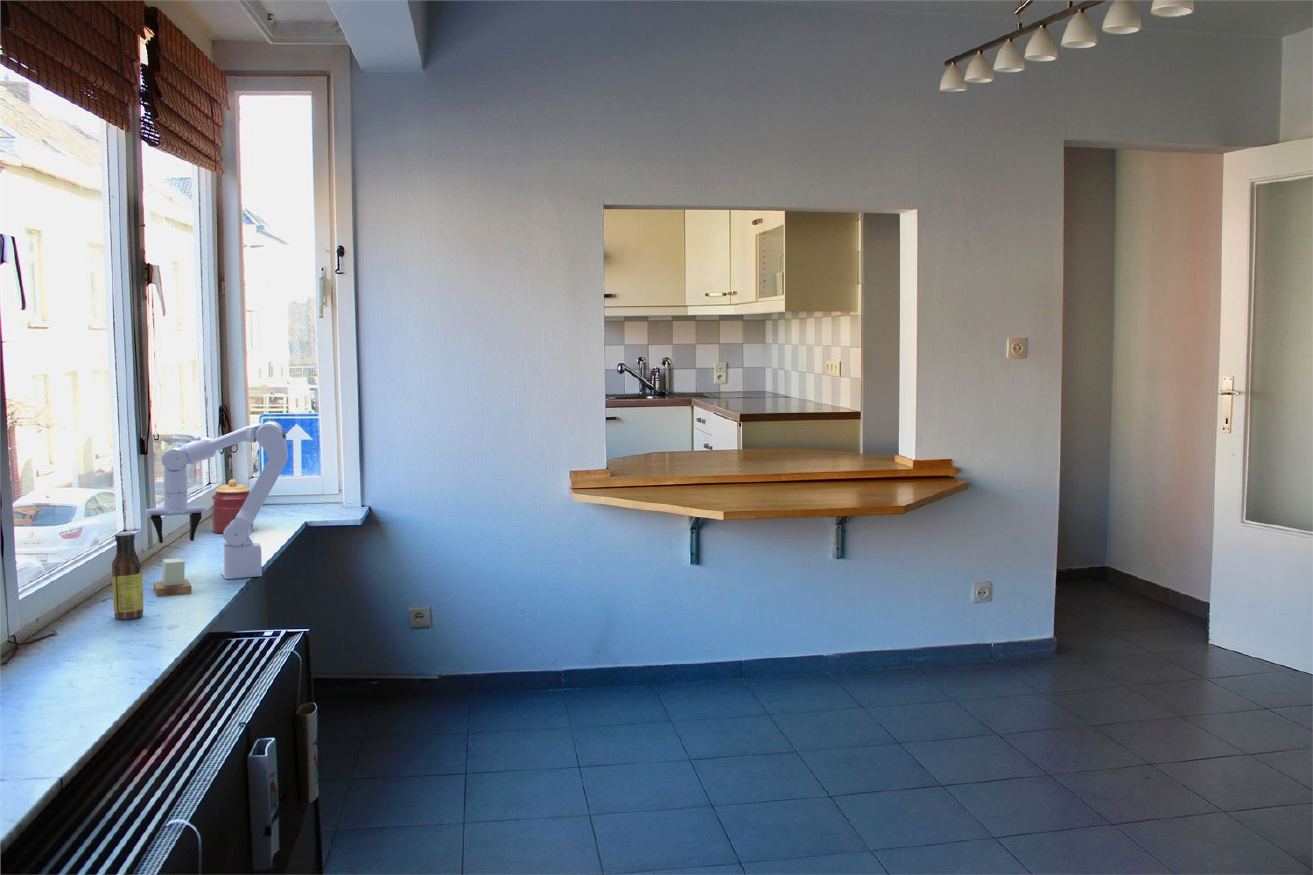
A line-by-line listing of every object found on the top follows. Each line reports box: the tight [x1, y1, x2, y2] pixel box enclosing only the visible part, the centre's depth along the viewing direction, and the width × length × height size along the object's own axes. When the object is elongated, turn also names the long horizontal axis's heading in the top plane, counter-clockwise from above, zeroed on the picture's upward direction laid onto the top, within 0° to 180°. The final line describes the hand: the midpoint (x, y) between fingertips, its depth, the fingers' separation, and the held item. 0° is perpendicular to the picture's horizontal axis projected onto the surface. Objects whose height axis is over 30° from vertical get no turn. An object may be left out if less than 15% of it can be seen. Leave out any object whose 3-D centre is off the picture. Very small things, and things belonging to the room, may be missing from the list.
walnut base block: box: [153, 578, 192, 597], centre depth 260 cm, size 8×8×2 cm
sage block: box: [162, 557, 186, 586], centre depth 260 cm, size 4×4×6 cm
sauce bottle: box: [111, 531, 144, 620], centre depth 235 cm, size 6×6×20 cm
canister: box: [211, 478, 254, 534], centre depth 340 cm, size 13×13×18 cm
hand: (176, 541), depth 274 cm, fingers open, 7 cm apart
